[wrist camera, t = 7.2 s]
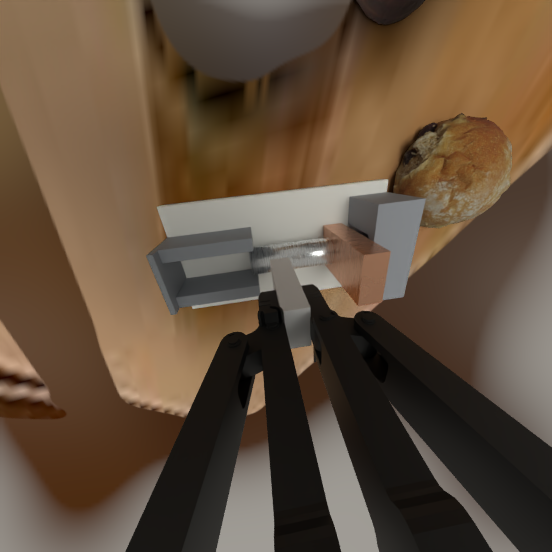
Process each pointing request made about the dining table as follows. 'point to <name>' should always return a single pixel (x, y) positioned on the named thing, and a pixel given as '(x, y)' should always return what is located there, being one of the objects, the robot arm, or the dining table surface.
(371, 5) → the mortar and pestle
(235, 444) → the robot arm
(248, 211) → the guide base
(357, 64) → the dining table surface
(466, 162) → the bread roll
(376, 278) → the slip tube
